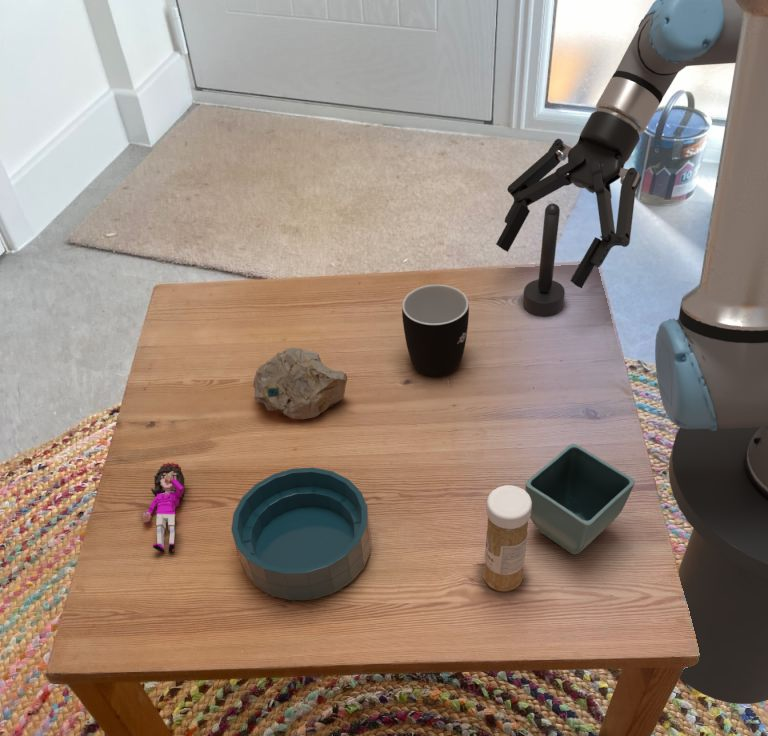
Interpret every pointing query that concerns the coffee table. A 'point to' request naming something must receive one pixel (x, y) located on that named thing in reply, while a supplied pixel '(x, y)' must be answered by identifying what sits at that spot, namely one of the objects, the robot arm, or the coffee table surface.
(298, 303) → the coffee table surface
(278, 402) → the rock
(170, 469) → the character figurine
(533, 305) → the peg on disc base
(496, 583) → the spice jar
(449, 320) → the mug
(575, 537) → the flower pot
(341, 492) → the bowl
